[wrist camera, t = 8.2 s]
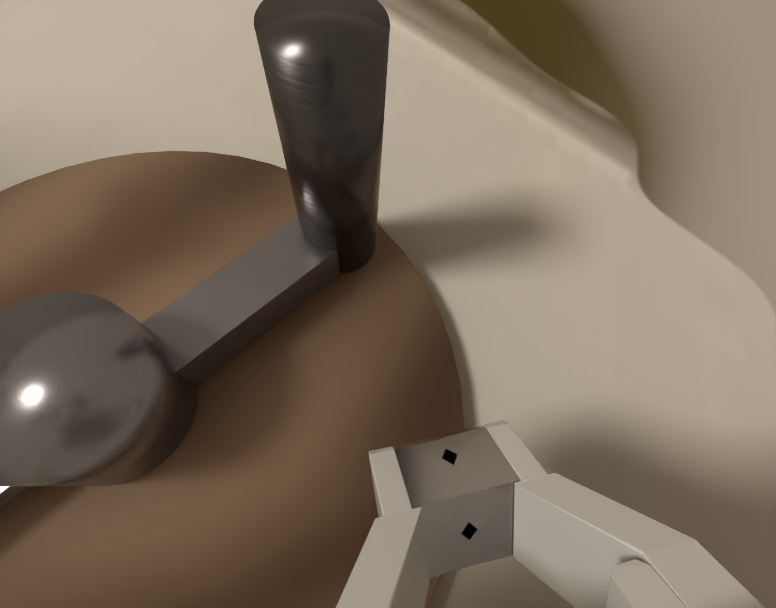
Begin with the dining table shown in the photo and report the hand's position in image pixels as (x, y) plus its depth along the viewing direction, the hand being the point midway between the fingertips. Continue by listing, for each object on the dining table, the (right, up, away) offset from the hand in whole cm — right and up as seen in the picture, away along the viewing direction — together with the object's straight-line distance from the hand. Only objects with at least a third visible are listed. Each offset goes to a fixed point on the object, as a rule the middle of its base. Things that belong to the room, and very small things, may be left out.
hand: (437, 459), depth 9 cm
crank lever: (-10, 0, +5) cm, 11 cm away
